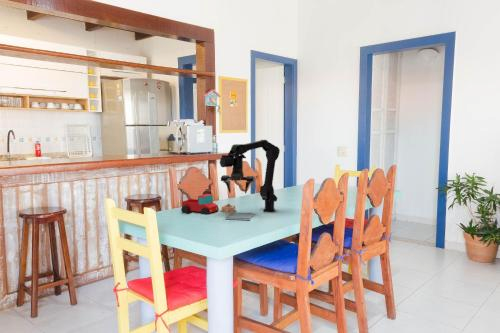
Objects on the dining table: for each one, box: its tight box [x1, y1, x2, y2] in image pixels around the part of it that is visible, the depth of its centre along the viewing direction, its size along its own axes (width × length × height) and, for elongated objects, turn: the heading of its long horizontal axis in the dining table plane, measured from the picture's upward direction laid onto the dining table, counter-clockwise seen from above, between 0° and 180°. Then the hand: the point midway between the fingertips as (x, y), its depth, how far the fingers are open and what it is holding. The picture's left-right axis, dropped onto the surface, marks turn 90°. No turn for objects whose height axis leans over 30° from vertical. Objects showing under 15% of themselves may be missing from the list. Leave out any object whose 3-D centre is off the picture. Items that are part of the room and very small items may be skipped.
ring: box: [221, 204, 236, 214], centre depth 232 cm, size 8×7×3 cm
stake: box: [219, 203, 238, 214], centre depth 232 cm, size 10×10×5 cm
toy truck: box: [180, 193, 220, 215], centre depth 231 cm, size 12×20×11 cm, turn 62°
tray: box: [225, 211, 255, 222], centre depth 219 cm, size 14×14×2 cm
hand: (237, 193), depth 225 cm, fingers open, 9 cm apart
